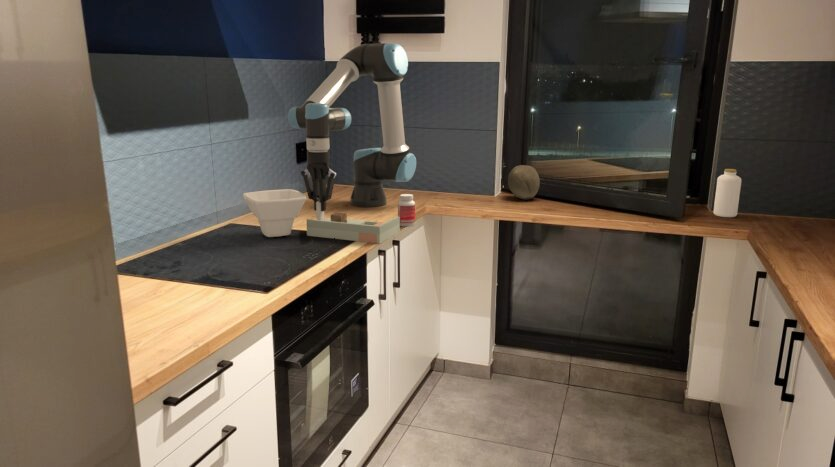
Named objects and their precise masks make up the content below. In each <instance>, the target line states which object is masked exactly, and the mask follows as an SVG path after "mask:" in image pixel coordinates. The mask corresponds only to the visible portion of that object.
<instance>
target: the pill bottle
mask: <svg viewBox="0 0 835 467" xmlns="http://www.w3.org/2000/svg"><path fill="white" fill-rule="evenodd" d="M399 199H400V200H399V201H398V202H397V217H400V227H406V228H407V227H408V228H409V227H414V226H415V225H416V202H415V201H414V194H411V193H402V194H400V195H399Z"/></svg>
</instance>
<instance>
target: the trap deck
mask: <svg viewBox="0 0 835 467" xmlns="http://www.w3.org/2000/svg"><path fill="white" fill-rule="evenodd" d="M400 228H401V226H400V217H398V216H395V217H393V218H391V219H388V221H385V222H384V221H374V220H373V221H372V220H361V219H351V218H347V223H343V222H333V221H331V216H330V217H328V218H325V220H317V219H312V218H307V219H306V236H308V237H318V238H327V239H334V238H335V239H336V240H345V241H355V242H360V243H361V242H364V243H372V244H382V243H383V242H385V241H387V240H388V239H390V238H392V237H394V236H396V235H397V234H399V233H400V232H401V231H400Z"/></svg>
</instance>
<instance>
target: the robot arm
mask: <svg viewBox="0 0 835 467" xmlns="http://www.w3.org/2000/svg"><path fill="white" fill-rule="evenodd" d="M406 52H407V51H406V50H405V48H403V46H402V45H400V44H398V43H391V42H383V43H363V44H360V45H358V46H356V47H354V48H352V49H350V50H349V51H348V52H346V53H345V54H344V55H343V56H342V57H341V58H340V59H339V60H338V61H337V63H336V67H335V68H334V69H333V70H332V72H331V73H330V74H329V75H328V76H327V77H326V78H325V80H323V82H322V83H321V84H320V85H319V86H318V88H316V89H315V91H313V93H312V94H311V95H310V96H309V97H308V98H307V99H306V100H305V101H304V103H303V104H302V105H301V106H293V107H291V108H290V109H289V111H288V114H287V120H288V121H287V122H288V123H289V125H290V126H291V128H294V129H300V130H305V131H306V133H305V134H306V138H305V139H306V150H307V151H306V162H307V165H306V168H305V169H304V170H301V171H300V174H301V176H302V178H303V181H304V186H305V188H306V193H307V199H309V200H312V201H313V206H314V207H313V209H314V211H316V212H315V213H316V220H325V219H326V218H325V211H326V210H327V201H330V200H331V199H332V196H333V190H334V185H335V180H336V178H337V176H338V172H337V171H334V170H332V167H331V162H330V161H331V153H330V151H329V150H330V146H331V144H330V132H333V131H334V132H335V131H336V132H337V131H344V130H346V129H348V128H349V127H350V126H351V124H352V114H351V113H350V111H349V110H348V109H347V108H346V107H345V108H344V107H331V106H332V105H333V104H334V103H335V101H336V100H337V99H338V98H339V96H341V94H342V93H343V92H344V91H345V90H346V89H347V87H348V86H349V85H350V84H351V83H352V82H356V81H357V80H358V79H359V78H360V77H362V76H363V77H364V76H372V81H373V83H374V84H376V85H377V91H378V104H379V112H380V123H381V131H382V142H383V146H382V147H369V148H362V149H357V150H355V151H354V153H353V181H354V182H353V183H354V184H353V185H354V186H353V189H352V191H351V196H350V198H349V200H350V205H351V206H354V207H362V208H363V207H365V208H369V207H370V208H371V207H372V208H373V207H380V206H384V205H386V204H387V196H386V194H385V190H384V186H383V181H386V182H388V181H389V182H396V183H401V182H402V183H406V182H409V181H410V180H412V179H413V176H414V174H415V172H416V169H417V157H416V156H415V154H413V153H412V152H410V146H408V145H407V144H406V138H405V129H404V127H405V126H404V118H403V116H404V114H403V106H402V94H401V82H402V81H403V80H404V76H405V74H407V72H408V67H409V59H408V55H407V53H406ZM327 178H328V179H327Z"/></svg>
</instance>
